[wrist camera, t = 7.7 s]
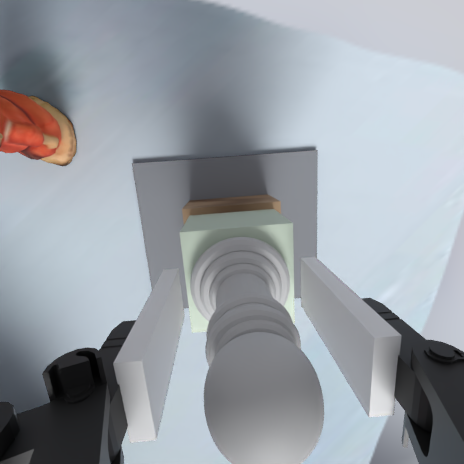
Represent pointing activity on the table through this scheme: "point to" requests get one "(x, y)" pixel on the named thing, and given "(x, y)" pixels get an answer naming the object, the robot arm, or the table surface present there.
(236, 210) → the block bottom
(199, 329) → the block top
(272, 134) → the table surface
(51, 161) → the figurine
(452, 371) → the robot arm
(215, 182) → the mat
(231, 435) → the chess piece
